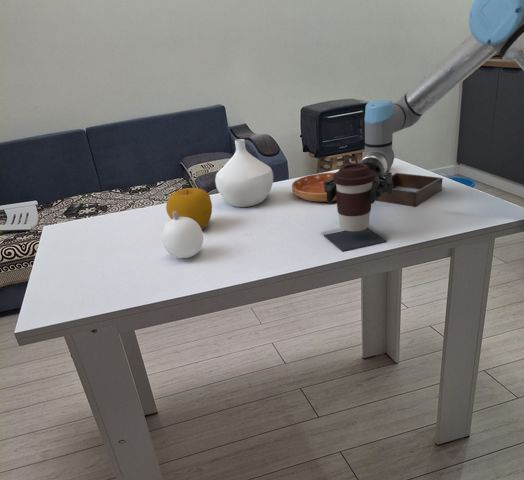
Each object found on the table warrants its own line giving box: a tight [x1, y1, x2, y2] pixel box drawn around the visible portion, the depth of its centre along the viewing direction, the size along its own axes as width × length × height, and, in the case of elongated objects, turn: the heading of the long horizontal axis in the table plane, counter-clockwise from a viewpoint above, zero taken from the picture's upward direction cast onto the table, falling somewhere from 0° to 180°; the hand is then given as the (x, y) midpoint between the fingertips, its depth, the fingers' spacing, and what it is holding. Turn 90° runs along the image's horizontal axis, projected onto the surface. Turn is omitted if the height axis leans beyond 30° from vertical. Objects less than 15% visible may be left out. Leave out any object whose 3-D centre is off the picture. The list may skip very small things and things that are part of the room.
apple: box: [165, 187, 213, 230], centre depth 154 cm, size 13×13×11 cm
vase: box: [214, 138, 274, 208], centre depth 168 cm, size 18×18×19 cm
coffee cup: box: [333, 162, 375, 231], centre depth 132 cm, size 10×10×15 cm
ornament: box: [161, 211, 204, 259], centre depth 136 cm, size 10×10×12 cm
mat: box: [323, 226, 388, 253], centre depth 138 cm, size 12×12×1 cm
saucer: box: [291, 172, 337, 203], centre depth 171 cm, size 23×23×4 cm
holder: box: [375, 172, 444, 208], centre depth 162 cm, size 16×16×4 cm
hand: (349, 197), depth 128 cm, fingers closed on coffee cup, 10 cm apart
